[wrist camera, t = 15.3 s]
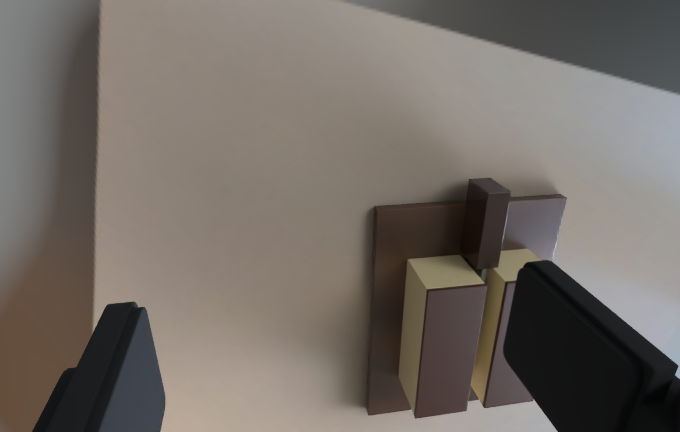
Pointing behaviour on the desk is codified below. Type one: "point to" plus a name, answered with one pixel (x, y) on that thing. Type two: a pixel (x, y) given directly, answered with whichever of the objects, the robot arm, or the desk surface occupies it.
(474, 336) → the cake
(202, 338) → the desk surface
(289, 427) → the desk surface
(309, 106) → the desk surface
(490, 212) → the knife
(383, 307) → the cake board
